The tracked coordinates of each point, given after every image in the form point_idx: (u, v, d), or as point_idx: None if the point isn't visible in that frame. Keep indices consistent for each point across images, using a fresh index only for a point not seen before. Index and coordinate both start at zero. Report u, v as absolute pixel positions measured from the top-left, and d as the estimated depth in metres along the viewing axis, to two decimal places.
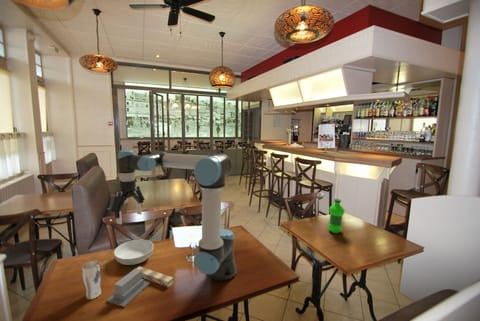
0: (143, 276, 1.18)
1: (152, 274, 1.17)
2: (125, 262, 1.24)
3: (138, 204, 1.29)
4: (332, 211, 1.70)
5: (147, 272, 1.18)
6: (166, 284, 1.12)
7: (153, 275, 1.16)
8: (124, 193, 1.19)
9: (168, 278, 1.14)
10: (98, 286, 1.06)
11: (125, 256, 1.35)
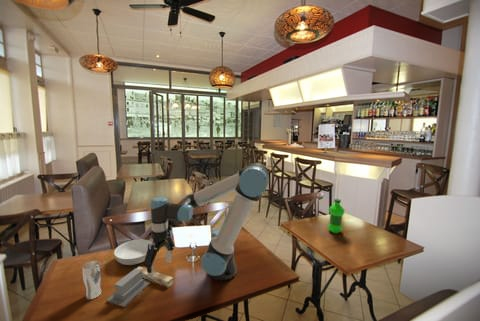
0: (143, 276, 1.18)
1: None
2: (125, 262, 1.24)
3: (168, 252, 1.20)
4: (332, 211, 1.70)
5: (147, 272, 1.18)
6: (166, 284, 1.12)
7: None
8: (156, 244, 1.09)
9: (168, 278, 1.14)
10: (98, 286, 1.06)
11: (125, 256, 1.35)
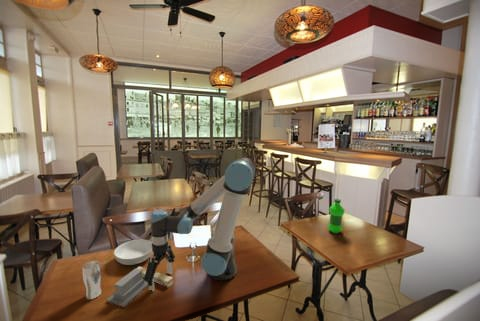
0: (143, 276, 1.18)
1: None
2: (125, 262, 1.24)
3: (169, 263, 1.21)
4: (332, 211, 1.70)
5: None
6: (166, 284, 1.12)
7: None
8: (157, 257, 1.10)
9: (168, 278, 1.14)
10: (98, 286, 1.06)
11: (125, 256, 1.35)
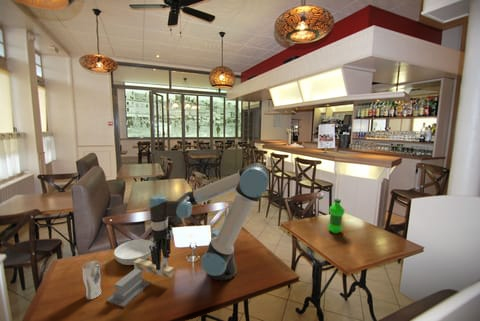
0: (143, 267, 1.17)
1: (152, 265, 1.16)
2: (125, 262, 1.24)
3: (164, 259, 1.16)
4: (332, 211, 1.70)
5: (147, 264, 1.17)
6: (167, 274, 1.12)
7: (153, 266, 1.15)
8: (157, 243, 1.09)
9: (169, 268, 1.14)
10: (98, 286, 1.06)
11: (125, 256, 1.35)
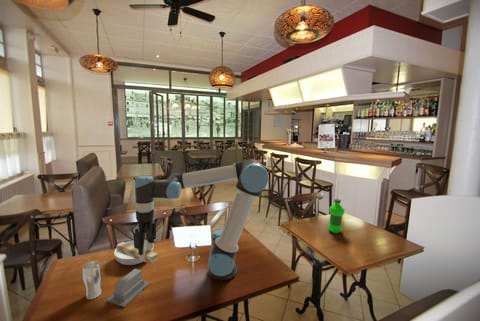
0: (126, 251, 1.10)
1: (135, 250, 1.09)
2: (125, 262, 1.24)
3: (148, 244, 1.09)
4: (332, 211, 1.70)
5: (130, 248, 1.10)
6: (150, 260, 1.05)
7: (136, 250, 1.09)
8: (141, 226, 1.02)
9: (152, 254, 1.07)
10: (98, 286, 1.06)
11: (125, 256, 1.35)
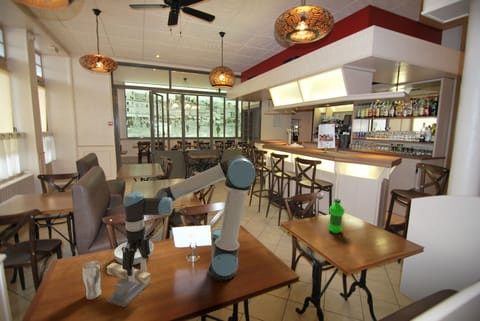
0: (117, 273, 1.07)
1: (126, 271, 1.06)
2: None
3: (142, 260, 1.07)
4: (332, 211, 1.70)
5: (121, 269, 1.07)
6: (142, 281, 1.02)
7: None
8: (132, 245, 0.99)
9: (145, 274, 1.04)
10: (98, 286, 1.06)
11: None
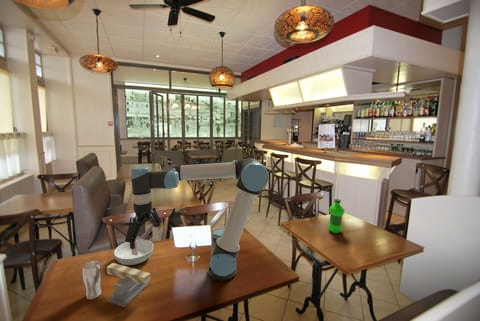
0: (117, 273, 1.07)
1: (126, 271, 1.06)
2: (125, 262, 1.24)
3: (154, 228, 1.10)
4: (332, 211, 1.70)
5: (121, 269, 1.07)
6: (142, 281, 1.02)
7: (128, 271, 1.05)
8: (139, 218, 1.00)
9: (145, 274, 1.04)
10: (98, 286, 1.06)
11: (125, 256, 1.35)
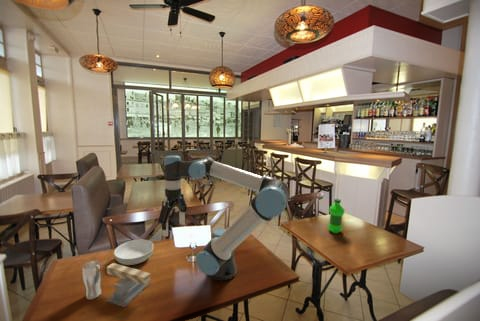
0: (117, 273, 1.07)
1: (126, 271, 1.06)
2: (125, 262, 1.24)
3: (181, 213, 1.20)
4: (332, 211, 1.70)
5: (121, 269, 1.07)
6: (142, 281, 1.02)
7: (128, 271, 1.05)
8: (170, 202, 1.09)
9: (145, 274, 1.04)
10: (98, 286, 1.06)
11: (125, 256, 1.35)
